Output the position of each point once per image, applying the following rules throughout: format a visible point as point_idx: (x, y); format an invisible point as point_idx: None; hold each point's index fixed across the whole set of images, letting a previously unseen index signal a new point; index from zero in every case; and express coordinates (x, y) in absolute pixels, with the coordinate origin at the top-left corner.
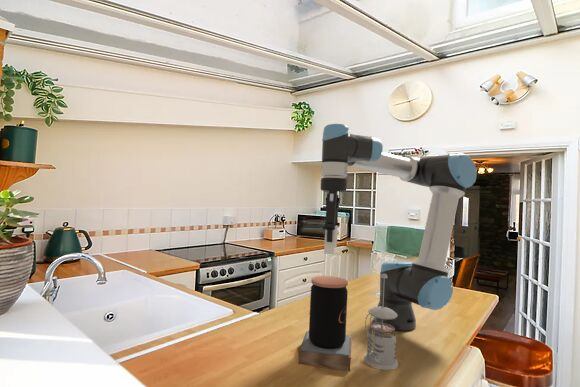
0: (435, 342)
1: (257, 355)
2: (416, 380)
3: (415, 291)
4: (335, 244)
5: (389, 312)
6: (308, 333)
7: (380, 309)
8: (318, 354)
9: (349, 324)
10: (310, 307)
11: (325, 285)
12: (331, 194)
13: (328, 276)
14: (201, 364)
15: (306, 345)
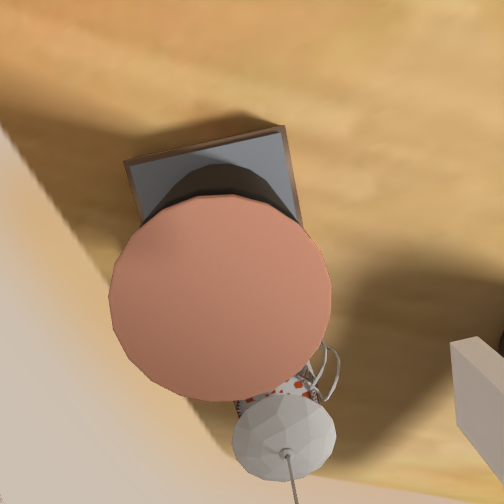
0: (447, 451)
1: (108, 9)
2: (210, 428)
3: None
4: (474, 436)
5: (265, 471)
6: (258, 144)
7: (267, 448)
8: (141, 221)
9: (498, 215)
10: (176, 188)
11: (111, 314)
12: None
13: (311, 274)
14: None
15: (161, 173)
